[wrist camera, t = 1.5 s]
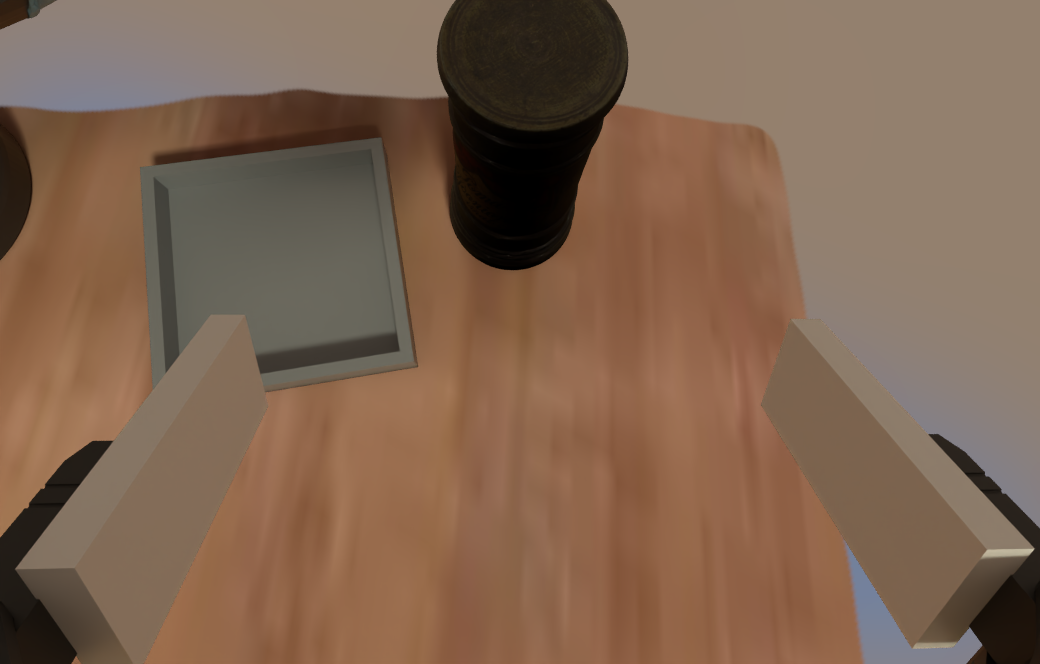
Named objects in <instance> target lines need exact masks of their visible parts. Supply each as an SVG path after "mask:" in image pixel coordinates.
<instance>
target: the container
mask: <svg viewBox="0 0 1040 664" xmlns="http://www.w3.org/2000/svg"><path fill="white" fill-rule="evenodd" d="M437 63H438V70H439V74H440V78H441V80H442V83H443V86H444V88H445V90H446V92H447V94H448V96H449V99H448V106H449V115H450V120H451V123H452V126H453V141H454V149H455V162H456V165H455V170H454V182H453V186H452V191H451V201H450V216H451V222H452V226H453V229H454V231H455V234H456V236H457V238H458V239H459V241H460V242H461V244H462V245H463V246H464V248H465V249H466V250H467V251H468V252H469V253H470V254H471V255H472V256H474V257H475V258H476V259H478V260H479V261H481V262H483V263H485V264H487V265H489V266H491V267H495V268H498V269H504V270H521V269H527V268H531V267H534V266H536V265H539V264H541V263H543V262H545V261H546V260H548V259H549V258H551V257H552V256H553V255H554V254H555V253H556V252H557V251H558V250H559V249H560V248H561V246H562V245H563V243H564V242H565V240H566V238H567V236H568V234H569V232H570V229H571V225H572V220H573V216H574V210H575V200H576V196H577V190H578V183H579V181H580V178H581V175H582V172H583V170H584V167H585V165H586V162H587V160H588V157H589V154H590V152H591V149H592V147H593V146H594V144H595V142H596V141H597V139H598V137H599V134H600V132H601V129H602V125H603V120H604V117H605V116H606V115H607V114H608V113H609V111H610V110H611V109H612V108H613V106H614V105H615V103H616V102H617V100H618V98H619V96H620V94H621V92H622V89H623V87H624V84H625V80H626V76H627V70H628V48H627V42H626V36H625V33H624V30H623V27H622V24H621V22H620V20H619V18H618V16H617V14H616V13H615V11H614V10H613V8H612V7H611V5H610V4H609V3H608V2H607V0H456V1H455V2H454V3H453V5H452V6H451V8H450V10H449V11H448V13H447V15H446V17H445V19H444V21H443V24H442V26H441V30H440V33H439V38H438V45H437Z"/></svg>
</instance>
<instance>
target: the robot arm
mask: <svg viewBox="0 0 1040 664" xmlns="http://www.w3.org/2000/svg"><path fill="white" fill-rule="evenodd" d="M54 1H56V0H0V29H2V28H5V27H7V26H10V25H12V24H14V23H17V22H19V21H21V20H24V19H26V18H32V17H35V16H37V15H38V13H39V12H40V9H42V8H43V7H45V6H47V5H49V4H51V3H53V2H54ZM30 194H31V182H30V174H29V169H28V165H27V162H26V159H25V156H24V154H23V152H22V150H21V148H20V146H19V145H18V143H17V142H16V140H15V139H14V138H13V137H12V135H11V134H10V133H9V132H8V131H7V130H6V129H5V128H4V127H3V126H2V125H0V259H1V258H2V257H3V256H4V255H5V254H6V252H7V251H8V250H9V248H10V247H11V246H12V244H13V242H14V241H15V239H16V238H17V236H18V234H19V232H20V230H21V228H22V226H23V223H24V221H25V218H26V215H27V211H28V207H29V202H30ZM761 406H762V408H763V409H764V411H765V412H766V414H767V416H768V417H769V419H770V420H771V422H772V424H773V425H774V427H775V429H776V430H777V432H778V433H779V435H780V437H781V438H782V440H783V441H784V443H785V445H786V446H787V448H788V449H789V451H790V453H791V454H792V456H793V458H794V459H795V461H796V462H797V464H798V466H799V467H800V469H801V470H802V472H803V474H804V475H805V477H806V478H807V480H808V482H809V483H810V485H811V487H812V488H813V490H814V491H815V493H816V495H817V496H818V498H819V499H820V501H821V503H822V504H823V506H824V507H825V509H826V511H827V512H828V514H829V516H830V517H831V519H832V520H833V522H834V524H835V525H836V527H837V528H838V530H839V532H840V533H841V535H842V536H843V538H844V540H845V541H846V543H847V545H848V546H849V548H850V549H851V551H852V552H853V554H854V556H855V557H856V559H857V561H858V562H859V564H860V565H861V567H862V569H863V570H864V572H865V574H866V575H867V577H868V578H869V580H870V582H871V583H872V585H873V586H874V588H875V589H876V591H877V593H878V594H879V596H880V598H881V599H882V601H883V603H884V604H885V605H886V607H887V609H888V611H889V612H890V614H891V615H892V617H893V618H894V620H895V622H896V623H897V625H898V627H899V628H900V630H901V632H902V633H903V635H904V636H905V638H906V639H907V641H908V643H909V644H910V646H911V648H913V649H914V648H944V647H954V646H955V644H956V643H957V642H958V641H959V640H960V638H961V637H962V636H963V635H964V633H965V632H966V631H967V630H968V629H969V627H970V628H971V629H972V631H973V632H974V634H975V635H976V636H977V638H978V639H979V641H980V642H981V643H982V647H981V648H980V649H979V650H978V651H977V653H976V654H975V655H974V656H973V657H972V658H971V659H970V660H969V661H968V663H967V664H1040V528H1039V527H1038V526H1037V525H1036V524H1035V523H1034V522H1033V521H1032V520H1031V519H1030V518H1029V517H1028V516H1027V515H1026V514H1025V513H1024V512H1023V511H1022V510H1021V509H1020V508H1019V507H1018V506H1017V505H1016V504H1015V503H1014V502H1013V501H1012V500H1011V499H1010V498H1009V497H1008V496H1007V495H1006V494H1002V492H1001V488H1000V487H999V486H998V485H997V484H996V483H995V482H993V480H992V479H991V478H990V477H986V476H985V472H984V471H983V470H982V469H981V468H980V467H979V466H978V465H977V464H976V463H975V462H974V461H973V460H972V459H971V458H970V457H969V456H968V455H967V453H966V452H964V451H963V450H961V449H960V448H958V447H957V446H955V445H954V444H952V443H951V442H949V441H948V440H946V439H944V438H943V437H942V436H940V435H939V434H927V433H926V432H925V431H924V430H923V429H922V428H921V426H920V425H919V424H918V423H917V422H916V421H915V420H914V419H913V418H912V417H911V416H910V415H909V414H908V412H907V411H906V410H905V409H904V408H903V407H902V406H901V405H900V404H899V403H898V402H897V401H896V400H895V399H894V398H893V396H892V395H891V394H890V393H889V392H888V391H887V390H886V389H885V388H884V387H883V386H882V385H881V384H880V383H879V382H878V381H877V379H876V378H875V377H874V376H873V375H872V374H871V373H870V372H869V371H868V370H867V369H866V368H865V366H864V365H863V364H862V363H861V362H860V361H859V360H858V359H857V358H856V357H855V356H854V355H853V354H852V353H851V352H850V351H849V349H848V348H847V347H846V346H845V345H844V344H843V343H842V342H841V341H840V340H839V339H838V338H837V337H836V335H834V334H833V332H832V331H831V330H830V329H829V328H828V327H827V326H826V325H825V324H824V323H823V321H822V320H820V319H790V322H789V325H788V328H787V331H786V334H785V337H784V339H783V342H782V345H781V348H780V351H779V354H778V357H777V360H776V362H775V365H774V368H773V371H772V374H771V377H770V380H769V383H768V385H767V388H766V391H765V394H764V397H763V400H762V403H761ZM267 408H268V403H267V399H266V395H265V391H264V387H263V383H262V379H261V375H260V372H259V368H258V364H257V360H256V356H255V352H254V348H253V344H252V340H251V336H250V332H249V328H248V325H247V321H246V317H245V315H210V316H209V318H208V319H207V320H206V322H205V323H204V324H203V326H202V327H201V328H200V329H199V331H198V332H197V333H196V335H195V336H194V337H193V339H192V340H191V341H190V342H189V344H188V345H187V346H186V348H185V349H184V350H183V352H182V353H181V354H180V355H179V357H178V358H177V359H176V361H175V362H174V363H173V365H172V366H171V367H170V368H169V370H168V371H167V372H166V374H165V375H164V376H163V378H162V379H161V380H160V381H159V383H158V384H157V385H156V387H155V388H154V389H153V391H152V392H151V393H150V394H149V396H148V397H147V398H146V400H145V401H144V402H143V404H142V405H141V406H140V407H139V409H138V410H137V411H136V413H135V414H134V415H133V417H132V418H131V419H130V420H129V422H128V423H127V424H126V426H125V427H124V428H123V430H122V431H121V432H120V433H119V435H118V436H117V437H116V439H115V440H114V441H92V442H91V443H89V444H88V445H86V446H85V447H83V448H82V449H81V450H79V451H78V452H76V453H75V454H74V455H72V456H71V457H69V458H68V459H67V460H65V461H64V462H63V463H62V465H61V466H60V467H59V468H58V469H57V471H56V472H55V473H54V474H53V475H52V477H51V478H50V479H49V480H48V481H47V483H46V484H45V488H44V489H41V490H40V491H39V492H38V493H37V494H36V496H35V497H34V498H33V499H32V500H31V502H30V503H29V507H28V508H25V509H24V510H23V511H22V512H21V514H20V515H19V516H18V517H17V518H16V520H15V521H14V522H13V523H12V524H11V526H10V527H9V528H8V529H7V530H6V532H5V533H4V534H3V535H2V536H1V537H0V664H71V663H72V662H73V660H74V658H75V657H76V656H77V658H78V659H79V660H80V662H81V663H82V664H144V662H145V660H146V658H147V656H148V654H149V652H150V650H151V648H152V646H153V644H154V642H155V639H156V637H157V635H158V633H159V631H160V629H161V627H162V625H163V623H164V621H165V619H166V617H167V615H168V613H169V610H170V608H171V606H172V604H173V602H174V600H175V598H176V596H177V594H178V592H179V590H180V588H181V586H182V584H183V582H184V579H185V577H186V575H187V573H188V571H189V569H190V567H191V565H192V563H193V561H194V559H195V557H196V555H197V553H198V550H199V548H200V546H201V544H202V542H203V540H204V538H205V536H206V534H207V532H208V530H209V528H210V526H211V524H212V521H213V519H214V517H215V515H216V513H217V511H218V509H219V507H220V505H221V503H222V501H223V499H224V497H225V495H226V493H227V490H228V488H229V486H230V484H231V482H232V480H233V478H234V476H235V474H236V472H237V470H238V468H239V466H240V464H241V461H242V459H243V457H244V455H245V453H246V451H247V449H248V447H249V445H250V443H251V441H252V439H253V437H254V435H255V433H256V430H257V428H258V426H259V424H260V422H261V420H262V418H263V416H264V414H265V412H266V410H267Z"/></svg>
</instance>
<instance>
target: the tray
mask: <svg viewBox="0 0 1040 664" xmlns="http://www.w3.org/2000/svg"><path fill="white" fill-rule="evenodd" d="M140 175H141V193H142V210H143V227H144V244H145V262H146V279H147V296H148V314H149V331H150V348H151V366H152V383H153V389H154V388H155V387H156V385H157V384H158V383H159V381H160V380H161V379H162V378H163V376H164V375H165V374H166V372H167V371H168V370H169V368H170V367H171V366H172V365H173V363H174V362H175V361H176V359H177V358H178V357H179V355H180V354H181V353H182V352H183V350H184V349H185V348H186V346H187V345H188V344H189V342H190V341H191V340H192V339H193V337H194V336H195V335H196V333H197V332H198V331H199V329H200V328H201V327H202V326H203V324H204V323H205V322H206V320H207V319H208V318H209V316H210V315H245V317H246V321H247V325H248V328H249V332H250V336H251V340H252V344H253V348H254V352H255V356H256V360H257V364H258V368H259V372H260V375H261V379H262V383H263V387H264V391H265V392H270V391H276V390H282V389H288V388H294V387H300V386H306V385H312V384H318V383H324V382H330V381H336V380H342V379H348V378H354V377H360V376H366V375H372V374H378V373H384V372H390V371H396V370H402V369H408V368H414V367H418V364H417V357H416V350H415V343H414V336H413V330H412V323H411V316H410V309H409V303H408V296H407V289H406V282H405V275H404V269H403V262H402V255H401V248H400V241H399V235H398V228H397V221H396V214H395V208H394V201H393V194H392V187H391V180H390V174H389V167H388V160H387V154H386V151H385V148H384V145H383V142H382V138H381V137H379V138H371V139H363V140H355V141H347V142H339V143H331V144H323V145H315V146H307V147H299V148H291V149H283V150H275V151H267V152H259V153H251V154H243V155H235V156H227V157H219V158H211V159H203V160H195V161H187V162H179V163H171V164H163V165H154V166H146V167H140Z"/></svg>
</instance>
